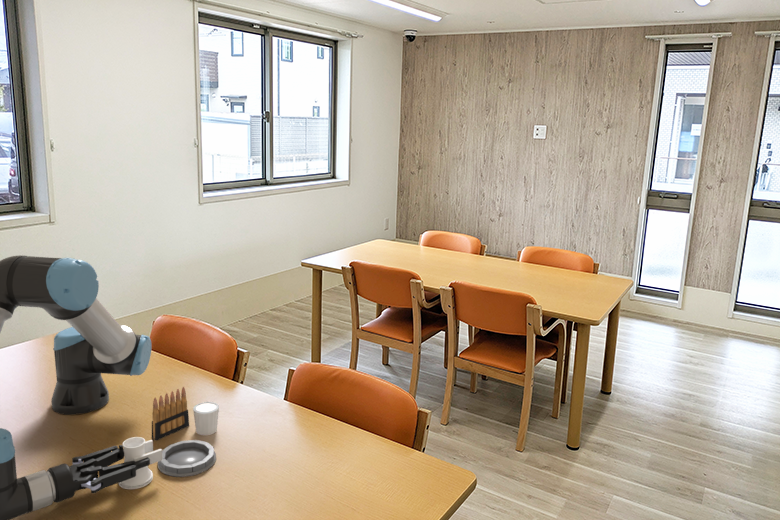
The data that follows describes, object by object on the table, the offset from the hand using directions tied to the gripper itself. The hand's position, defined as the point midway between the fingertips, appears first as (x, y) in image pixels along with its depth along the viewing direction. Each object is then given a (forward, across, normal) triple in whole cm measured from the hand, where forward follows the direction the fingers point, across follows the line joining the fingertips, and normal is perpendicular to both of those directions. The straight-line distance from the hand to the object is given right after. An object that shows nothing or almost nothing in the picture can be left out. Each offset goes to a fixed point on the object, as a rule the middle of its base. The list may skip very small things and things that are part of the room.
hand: (156, 449), depth 145 cm
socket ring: (+8, 0, -6) cm, 10 cm away
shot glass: (+19, -11, -6) cm, 23 cm away
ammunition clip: (+11, -16, -6) cm, 20 cm away
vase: (-5, 0, -6) cm, 8 cm away
